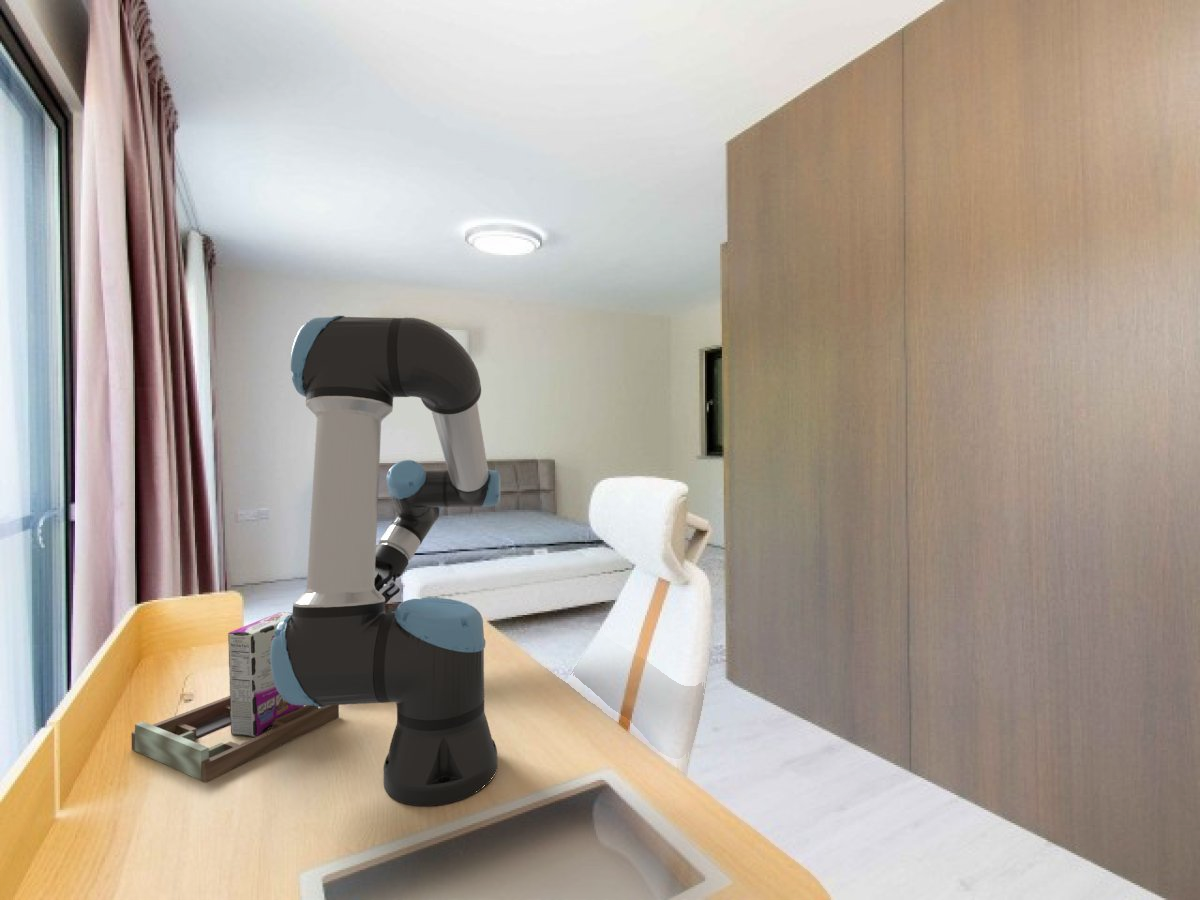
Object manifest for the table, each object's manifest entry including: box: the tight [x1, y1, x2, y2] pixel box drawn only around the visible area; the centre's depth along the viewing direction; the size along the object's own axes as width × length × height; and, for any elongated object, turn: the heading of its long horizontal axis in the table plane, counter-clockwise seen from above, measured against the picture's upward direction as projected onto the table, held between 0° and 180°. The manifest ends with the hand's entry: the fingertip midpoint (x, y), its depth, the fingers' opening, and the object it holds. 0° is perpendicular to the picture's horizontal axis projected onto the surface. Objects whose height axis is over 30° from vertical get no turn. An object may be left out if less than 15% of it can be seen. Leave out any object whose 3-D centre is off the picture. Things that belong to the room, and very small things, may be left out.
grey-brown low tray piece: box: [130, 695, 340, 783], centre depth 92 cm, size 19×21×4 cm
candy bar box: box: [227, 611, 305, 738], centre depth 96 cm, size 11×5×16 cm, turn 168°
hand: (322, 660), depth 105 cm, fingers closed
